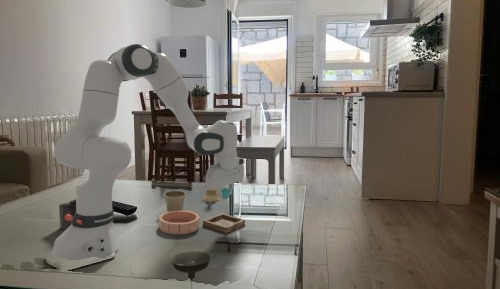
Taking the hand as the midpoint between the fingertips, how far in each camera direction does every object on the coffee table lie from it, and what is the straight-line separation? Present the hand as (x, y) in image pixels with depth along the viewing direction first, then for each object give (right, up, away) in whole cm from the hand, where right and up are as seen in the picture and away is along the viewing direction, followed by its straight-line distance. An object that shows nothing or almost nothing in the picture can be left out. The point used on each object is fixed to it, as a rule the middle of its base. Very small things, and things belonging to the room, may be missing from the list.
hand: (224, 195), depth 167 cm
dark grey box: (-53, -12, -8) cm, 55 cm away
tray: (0, -12, +2) cm, 12 cm away
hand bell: (-8, -6, +34) cm, 36 cm away
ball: (0, -1, 0) cm, 1 cm away
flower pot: (-22, -9, +14) cm, 28 cm away
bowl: (-18, -12, -2) cm, 22 cm away
